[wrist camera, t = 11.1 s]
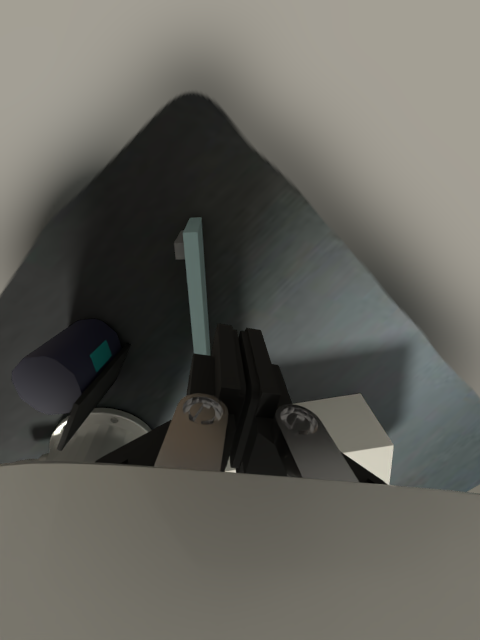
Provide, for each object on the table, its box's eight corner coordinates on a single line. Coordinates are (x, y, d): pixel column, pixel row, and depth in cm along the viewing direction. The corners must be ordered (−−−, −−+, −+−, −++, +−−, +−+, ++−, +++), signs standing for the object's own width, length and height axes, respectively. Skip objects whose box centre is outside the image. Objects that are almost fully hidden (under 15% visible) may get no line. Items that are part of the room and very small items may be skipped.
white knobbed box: (221, 481, 44) (222, 549, 36) (205, 417, 38) (203, 480, 31) (357, 460, 44) (387, 523, 36) (360, 393, 39) (396, 450, 31)
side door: (214, 419, 38) (214, 469, 32) (199, 420, 38) (196, 470, 32) (201, 217, 28) (197, 232, 21) (180, 217, 28) (170, 233, 21)
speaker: (148, 352, 34) (107, 419, 24) (114, 381, 35) (64, 455, 26) (91, 302, 32) (22, 353, 22) (58, 335, 33) (-19, 397, 24)
